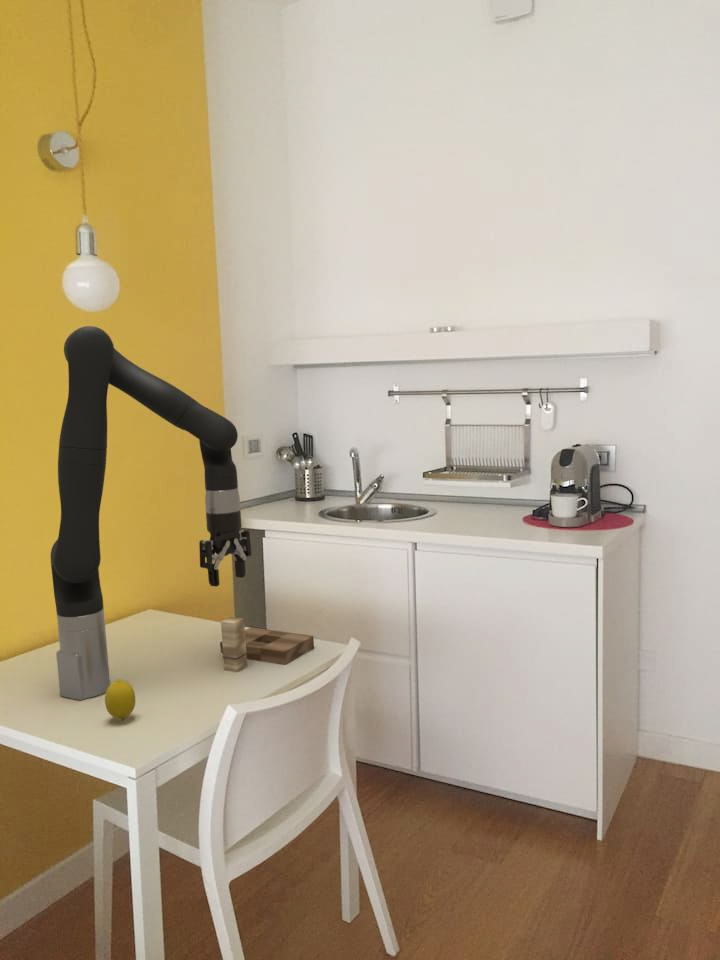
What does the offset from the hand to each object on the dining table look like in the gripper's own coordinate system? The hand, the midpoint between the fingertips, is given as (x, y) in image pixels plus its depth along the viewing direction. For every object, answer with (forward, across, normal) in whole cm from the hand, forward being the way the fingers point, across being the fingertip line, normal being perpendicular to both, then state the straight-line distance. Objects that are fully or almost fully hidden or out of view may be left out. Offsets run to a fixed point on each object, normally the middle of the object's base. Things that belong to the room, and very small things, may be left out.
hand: (227, 581), depth 183 cm
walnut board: (+19, +10, -2) cm, 21 cm away
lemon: (+19, -33, -1) cm, 38 cm away
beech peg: (+19, -2, -2) cm, 19 cm away
